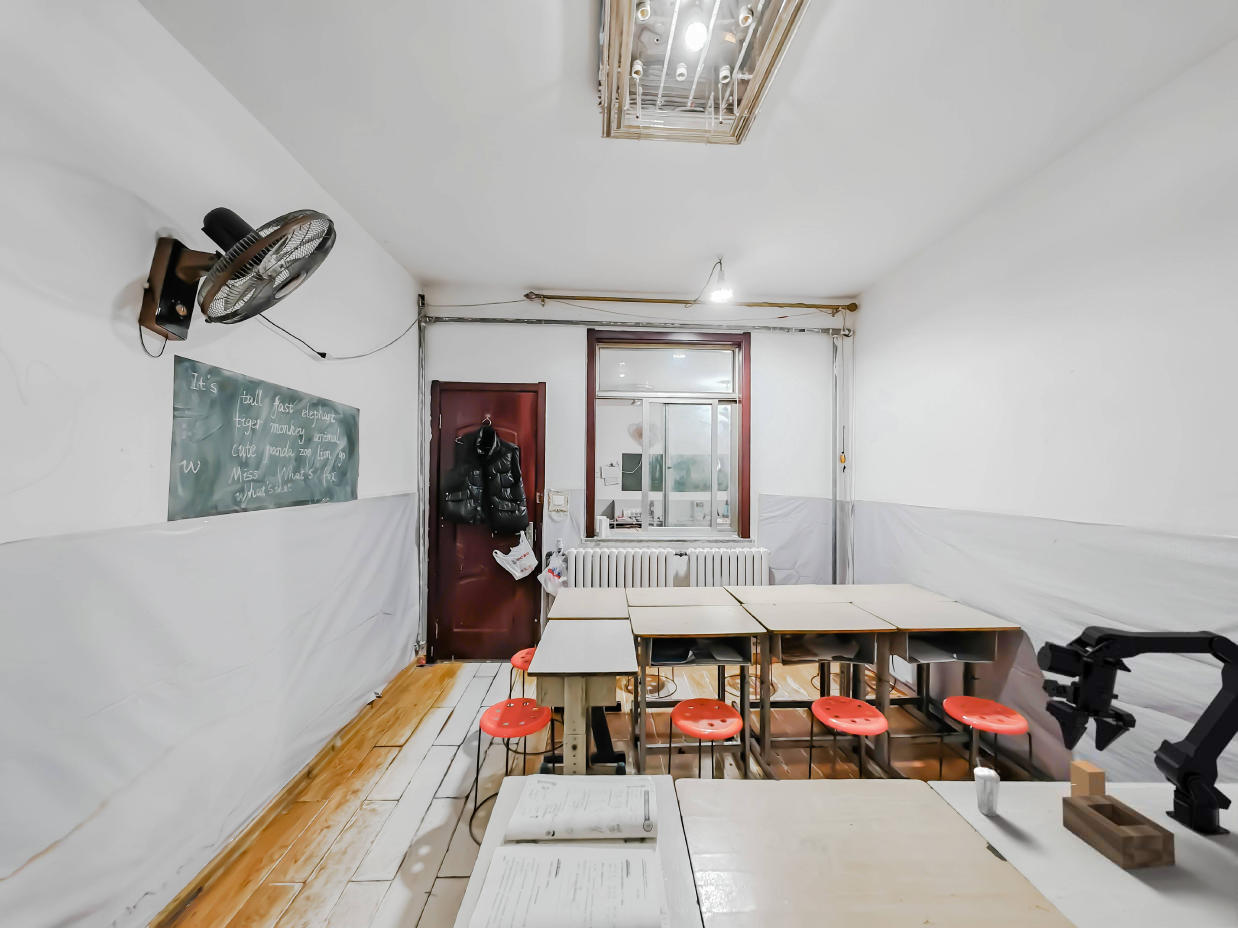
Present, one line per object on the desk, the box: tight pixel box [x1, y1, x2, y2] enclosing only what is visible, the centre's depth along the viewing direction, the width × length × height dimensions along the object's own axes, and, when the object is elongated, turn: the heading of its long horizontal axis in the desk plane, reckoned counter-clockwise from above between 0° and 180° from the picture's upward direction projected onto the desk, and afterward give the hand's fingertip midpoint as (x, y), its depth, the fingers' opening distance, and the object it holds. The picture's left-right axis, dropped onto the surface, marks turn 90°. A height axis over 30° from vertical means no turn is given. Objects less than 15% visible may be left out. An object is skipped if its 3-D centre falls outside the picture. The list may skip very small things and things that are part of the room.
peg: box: [1069, 760, 1107, 797], centre depth 107 cm, size 4×4×8 cm
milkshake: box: [973, 757, 1001, 817], centre depth 104 cm, size 4×5×10 cm
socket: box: [1061, 794, 1176, 870], centre depth 94 cm, size 11×11×6 cm
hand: (1083, 749), depth 106 cm, fingers open, 9 cm apart
